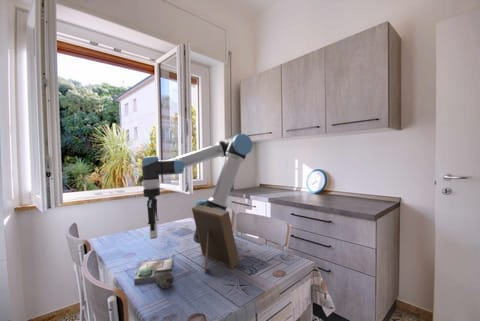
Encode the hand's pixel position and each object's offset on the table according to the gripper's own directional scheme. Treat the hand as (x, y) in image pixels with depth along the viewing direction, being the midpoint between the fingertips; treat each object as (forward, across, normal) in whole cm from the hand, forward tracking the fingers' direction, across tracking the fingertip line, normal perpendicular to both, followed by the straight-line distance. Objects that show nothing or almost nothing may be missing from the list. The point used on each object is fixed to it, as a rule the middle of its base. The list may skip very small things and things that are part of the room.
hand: (153, 235), depth 110 cm
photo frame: (+11, +14, +26) cm, 32 cm away
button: (+10, +21, 0) cm, 23 cm away
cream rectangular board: (+11, +12, +2) cm, 16 cm away
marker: (+1, 0, 0) cm, 1 cm away
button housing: (+10, +21, 0) cm, 23 cm away
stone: (+11, +27, +7) cm, 30 cm away
